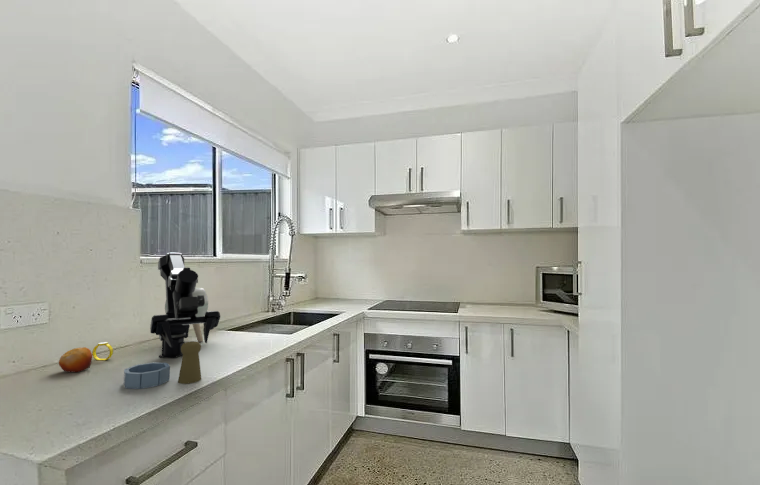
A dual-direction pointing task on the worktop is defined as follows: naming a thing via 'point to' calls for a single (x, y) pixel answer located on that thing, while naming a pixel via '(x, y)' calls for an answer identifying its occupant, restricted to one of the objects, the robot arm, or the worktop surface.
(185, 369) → the cork
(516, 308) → the worktop surface
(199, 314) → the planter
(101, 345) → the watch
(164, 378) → the bowl
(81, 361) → the fruit
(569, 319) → the worktop surface
